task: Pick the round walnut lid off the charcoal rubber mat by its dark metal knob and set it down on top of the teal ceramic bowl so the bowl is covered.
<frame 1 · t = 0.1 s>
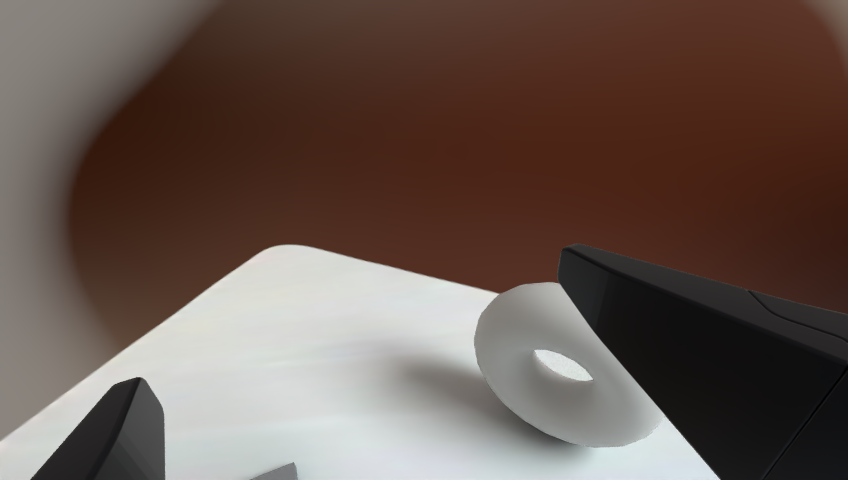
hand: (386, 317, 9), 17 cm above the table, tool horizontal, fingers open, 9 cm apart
donut: (550, 424, 24), on the table
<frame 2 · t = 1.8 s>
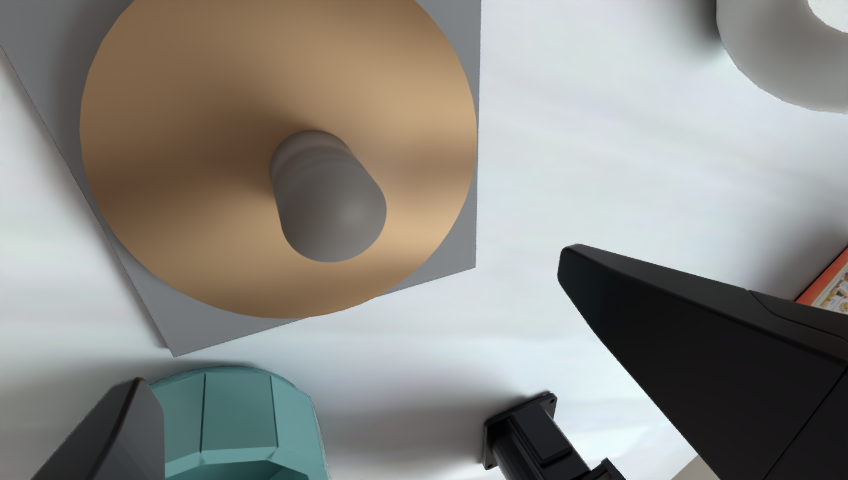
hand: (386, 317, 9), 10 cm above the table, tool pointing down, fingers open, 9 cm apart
donut: (720, 7, 21), on the table
cracker box: (805, 296, 45), on the table
bowl: (211, 435, 22), on the table
mat: (309, 160, 16), on the table
lid: (310, 164, 16), resting on mat
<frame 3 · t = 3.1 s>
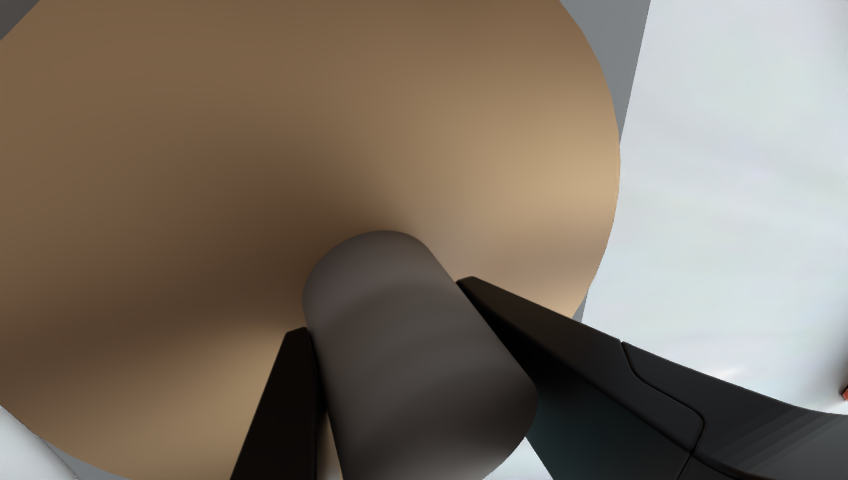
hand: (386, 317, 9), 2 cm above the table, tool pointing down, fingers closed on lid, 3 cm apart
mat: (359, 262, 10), on the table
lid: (364, 273, 10), resting on mat, touching gripper
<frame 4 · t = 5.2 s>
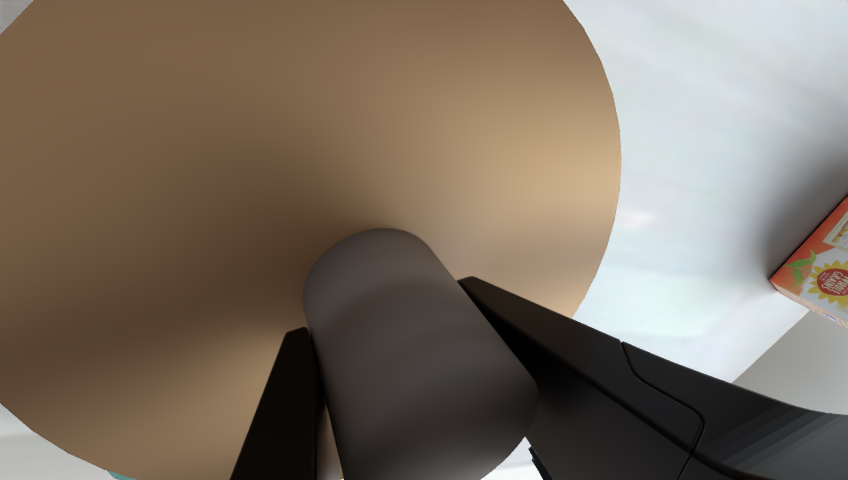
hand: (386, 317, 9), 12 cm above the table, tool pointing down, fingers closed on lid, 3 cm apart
cracker box: (816, 236, 45), on the table
lid: (365, 271, 10), point 10 cm above the table, touching gripper
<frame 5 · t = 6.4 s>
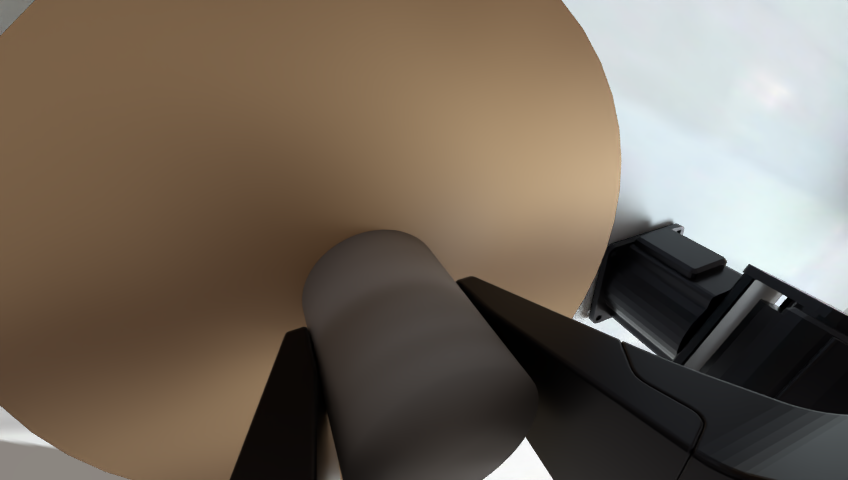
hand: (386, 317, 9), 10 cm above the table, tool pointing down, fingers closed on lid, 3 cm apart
lid: (364, 272, 10), point 8 cm above the table, touching gripper
when the fingers open (8 cm above the table, at t = 7.3 s): lid drops 2 cm, resting on bowl.
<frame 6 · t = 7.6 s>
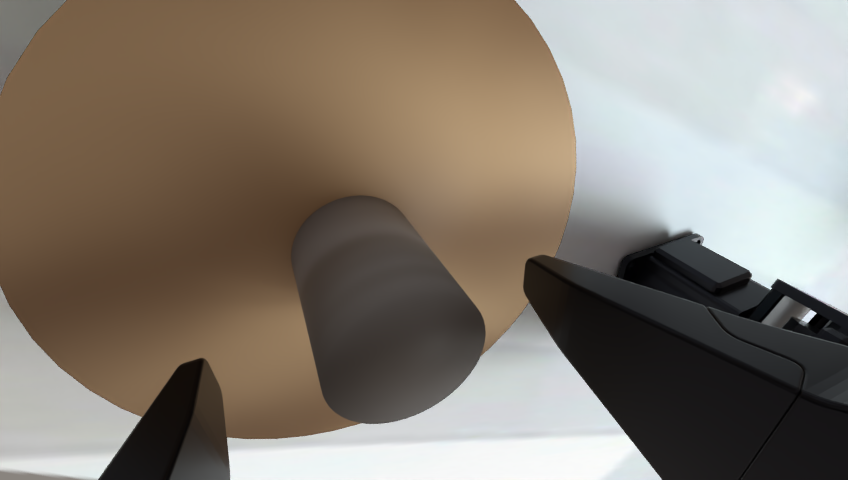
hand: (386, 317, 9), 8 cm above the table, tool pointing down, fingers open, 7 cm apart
lid: (347, 237, 11), point 5 cm above the table, touching bowl
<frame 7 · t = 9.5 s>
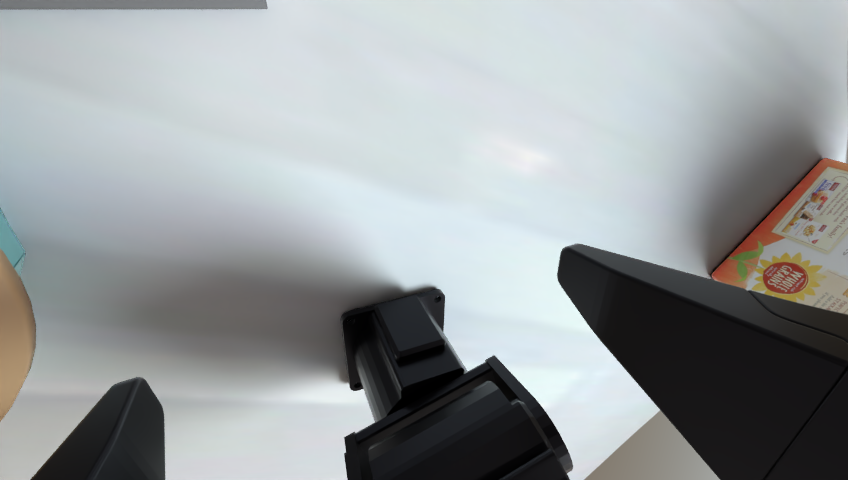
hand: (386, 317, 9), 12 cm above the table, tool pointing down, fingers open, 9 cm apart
cracker box: (767, 228, 39), on the table
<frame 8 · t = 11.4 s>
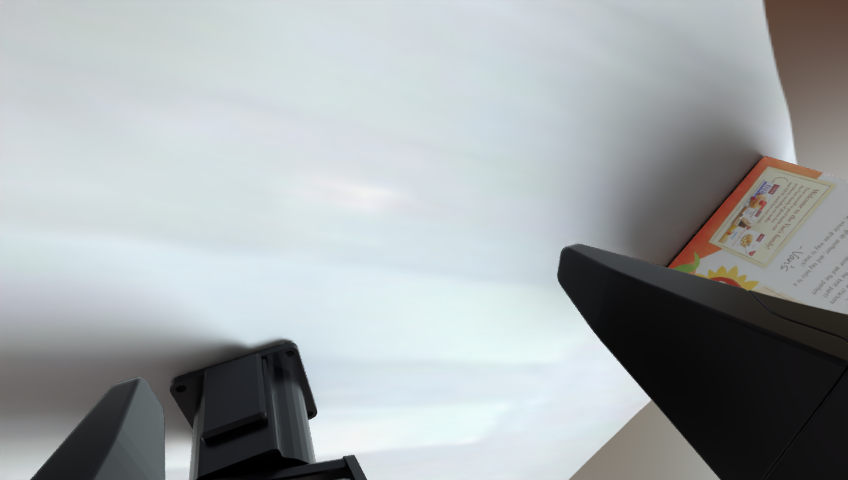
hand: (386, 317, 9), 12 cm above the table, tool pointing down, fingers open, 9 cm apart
cracker box: (710, 236, 35), on the table
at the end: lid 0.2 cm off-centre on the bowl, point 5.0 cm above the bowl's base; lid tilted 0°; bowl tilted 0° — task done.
